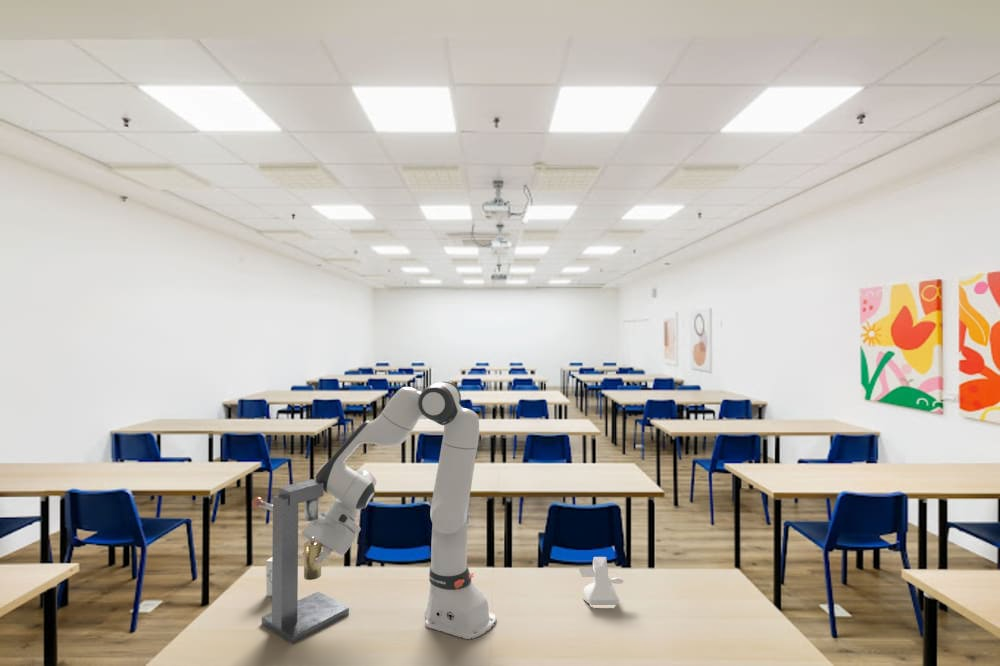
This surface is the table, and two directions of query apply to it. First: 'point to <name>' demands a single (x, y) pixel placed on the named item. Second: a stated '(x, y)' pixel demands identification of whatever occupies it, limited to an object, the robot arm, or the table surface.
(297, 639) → the bench press
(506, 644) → the table surface
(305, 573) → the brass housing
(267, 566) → the ink cartridge box
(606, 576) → the white irregular piece
